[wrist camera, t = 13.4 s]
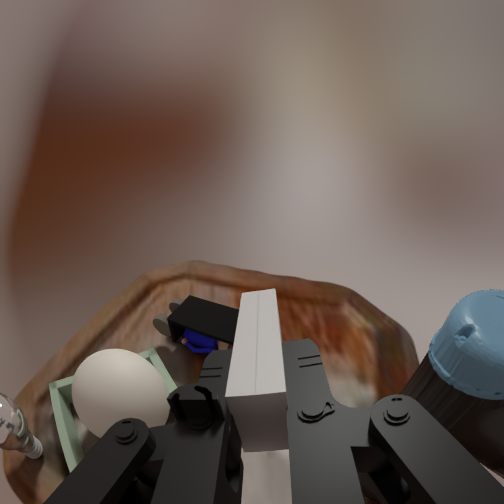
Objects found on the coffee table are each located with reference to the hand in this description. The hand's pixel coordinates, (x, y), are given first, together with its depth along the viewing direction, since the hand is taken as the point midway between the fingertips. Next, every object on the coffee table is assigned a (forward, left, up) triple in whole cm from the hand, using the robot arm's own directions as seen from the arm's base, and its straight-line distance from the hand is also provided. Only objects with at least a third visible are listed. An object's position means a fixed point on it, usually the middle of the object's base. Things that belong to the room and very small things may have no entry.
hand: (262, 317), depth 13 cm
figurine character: (+17, -12, -24) cm, 32 cm away
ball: (+15, +4, -18) cm, 24 cm away
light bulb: (+20, +20, -24) cm, 37 cm away
